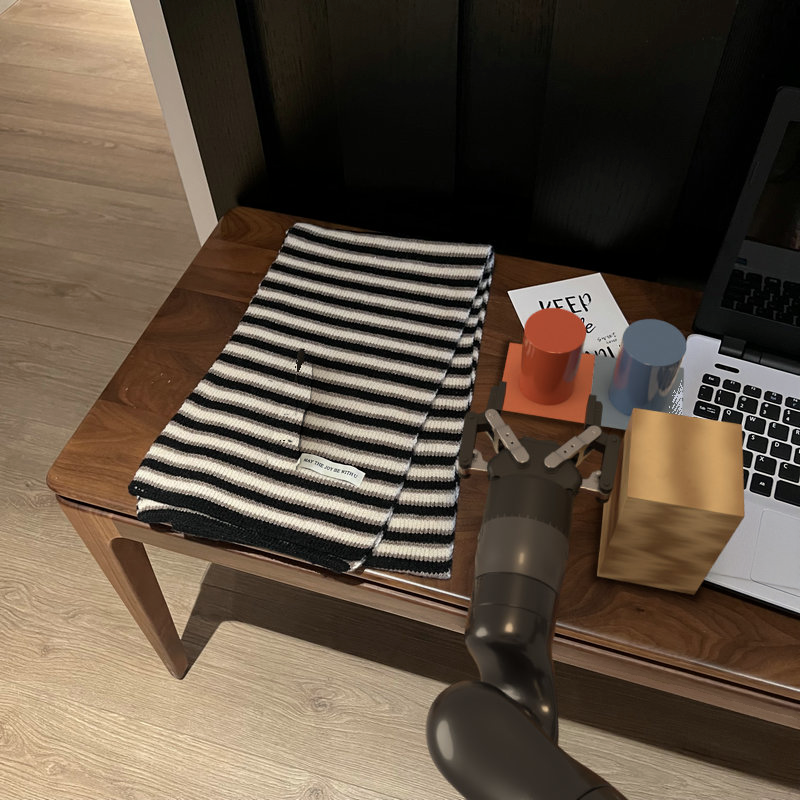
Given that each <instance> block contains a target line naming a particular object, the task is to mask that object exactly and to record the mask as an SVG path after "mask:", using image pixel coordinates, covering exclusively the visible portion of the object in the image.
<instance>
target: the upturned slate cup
mask: <svg viewBox="0 0 800 800" xmlns="http://www.w3.org/2000/svg"><path fill="white" fill-rule="evenodd" d="M687 348H688V347H687V340H686V338H685V336H684V334H683V333H682V332H681V331H680V329H678V328H677V327H676V326H675V325H674V324H673V325H672V324H671V323H669V322H667V321H664V320H662V319H661V320H660V319H655V318H646V319H640V320H637V321H634V322H632V323H631V324H629V325H628V326H627V327H626V328H625V330H624V331H623V334H622V336H621V341H620V345H619V348H618V351H617V355H616V357H615V358H616V362H615V366H614V369H613V373H612V376H611V380H610V384H609V387H608V396H609V399H610V401H611V403H612V405H613V406H614V407H615V408H616V409H617V410H618V411H620V412H621V413H623V414H625V415H628V416H631V414H632V411H633V408H638V409H644V410H650V411H657V412H661V411H662V410H663V408H664V407H665V405H666V402H667V399H668V397H669V394H670V392H671V389H672V386H673V384H674V381H675V379H676V376H677V373H678V371H679V368H680V367H681V366H682V362H683V360H684V358H685V355H686V353H687Z"/></svg>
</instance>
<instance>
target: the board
mask: <svg viewBox="0 0 800 800" xmlns="http://www.w3.org/2000/svg"><path fill="white" fill-rule="evenodd" d="M522 344H523V343H516V342H515V343H514V342H509V346H508V349H507V350H508V351H507V356H506V360H505V364H504V365H505V366H504V369H503V377H502V380H501V381H505V382H507V386H506V395H505V400H504V405H503V410H502V411H504V412H511V413H517V414H524V415H529V416H536V417H543V418H549V419H556V420H562V421H567V422H573V423H580V424H584V422H585V413H586V406H587V401H588V397H589V394H591V395H597V398H596V401H600V402H602V405H603V410H602V420H601V427H604V428H605V427H607V428H610V429H611V428H612V429H617V430H618V429H619V430H623V431H626V429H627V426H628V423H629V420H630V417H631V416H628V415H625V414H623V413H621V412H620V411H618V410H617V409H616V408H615V407H614V406H613V405H612V403H611V401H610V399H609V396H608V387H609V384H610V380H611V376H612V373H613V369H614V366H615V362H616V358H617V357H611V356H605V355H598V354H592V353H586V352H585V353H584V352H582V357H581V361H580V366H579V370H578V375H577V379H576V384H575V388H574V391H573V393H572V395H571V396H570V397H569V398H568V399H567V400H565V401H564V402H562V403H559V404H555V405H542V404H538V403H535V402H533V401H531V400H529V399H528V398H527V397H525V396H524V394H523V393H522V392H521V390H520V388H519V385H518V376H519V368H520V360H521V352H522ZM684 378H685V368H684V367H681V366H680V368H679V371H678V373H677V376H676V379H675V381H674V384H673V386H672V389H671V392H670V394H669V397H668V399H667V402H666V405H665V407H664V408H663V410H662V411H661V412H663V413H669V412H670V414H675V413H676V412H677V410H678V408H679V407H680V406H678V407H677V409H676V411H674V409H675V408H676V406H677V404H678V402H679V401H680V399H681V398H680V399H679V401H678V402H677V404H676V403H675V402H676V400H677V398H676V399H675V401H674V403H673V402H672V401H673V399H674V397H675V396H674V395H676V393H677V391H678V388H679V391H680V388H681V386H680V383H681V385H682V387H683V388H684V383H685V381H684V380H685V379H684ZM681 380H682V382H681ZM679 386H680V387H679ZM681 389H682V388H681ZM674 390H675V392H676V393H675V392H674ZM679 391H678V394H680V392H681V391H680V392H679ZM673 392H674V393H673ZM672 395H673V396H672ZM677 397H678V396H677ZM674 404H675V406H674V408H673V409H672V407H673V405H674ZM679 405H680V404H679ZM669 406H670V408H669ZM681 409H682V408H681ZM673 411H674V412H673ZM680 411H681V410H680ZM680 411H679V410H678V412H677V414H676V415H678V414H679V412H680ZM672 412H673V413H672ZM681 414H682V412H681ZM681 414H680V415H681Z"/></svg>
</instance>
